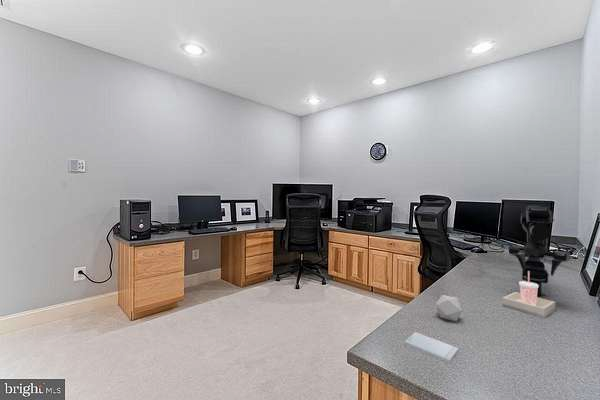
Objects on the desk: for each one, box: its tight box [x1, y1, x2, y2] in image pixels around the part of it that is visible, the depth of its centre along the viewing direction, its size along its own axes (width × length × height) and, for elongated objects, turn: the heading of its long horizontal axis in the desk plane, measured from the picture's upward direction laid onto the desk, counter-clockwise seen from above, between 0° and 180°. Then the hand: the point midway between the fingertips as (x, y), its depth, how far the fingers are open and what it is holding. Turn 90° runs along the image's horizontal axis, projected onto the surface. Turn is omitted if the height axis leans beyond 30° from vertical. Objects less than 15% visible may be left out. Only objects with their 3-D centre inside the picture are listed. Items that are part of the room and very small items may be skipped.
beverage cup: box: [518, 271, 539, 306], centre depth 106 cm, size 6×6×14 cm
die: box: [435, 294, 463, 322], centre depth 96 cm, size 8×9×10 cm
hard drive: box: [404, 331, 460, 364], centre depth 77 cm, size 2×8×12 cm
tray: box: [502, 291, 556, 319], centre depth 106 cm, size 13×13×4 cm
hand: (537, 272), depth 111 cm, fingers open, 9 cm apart
